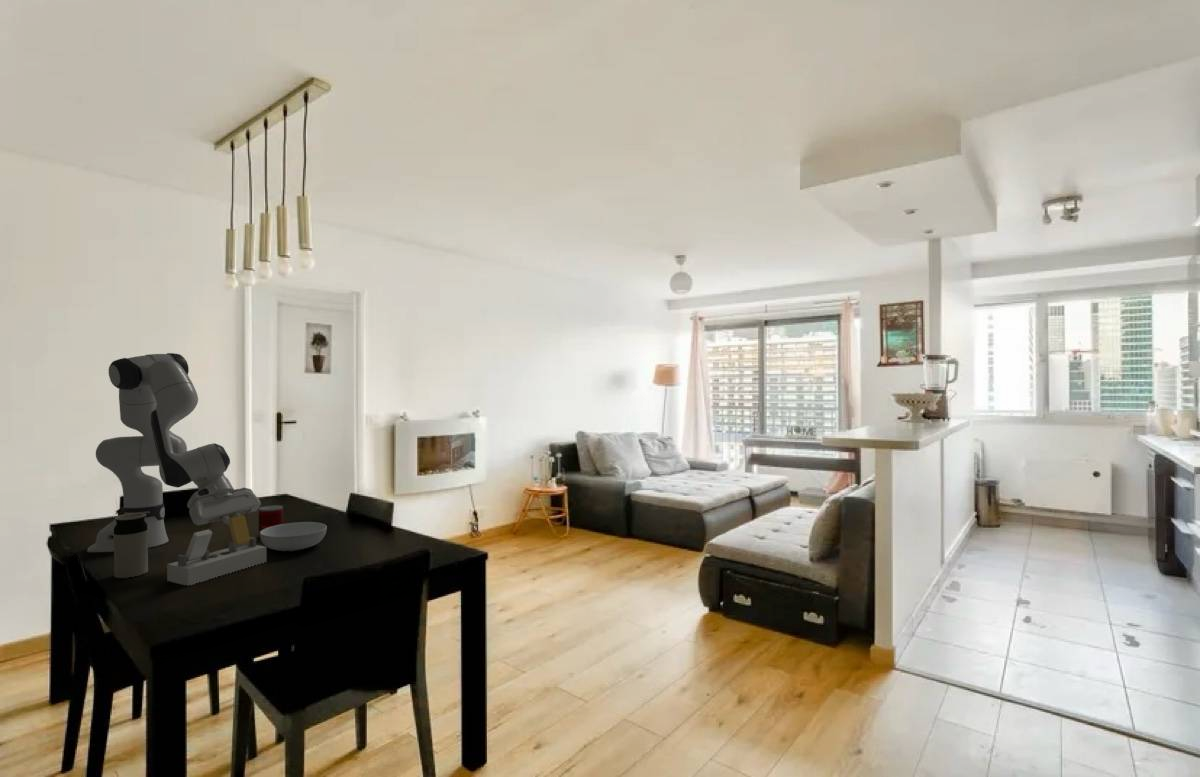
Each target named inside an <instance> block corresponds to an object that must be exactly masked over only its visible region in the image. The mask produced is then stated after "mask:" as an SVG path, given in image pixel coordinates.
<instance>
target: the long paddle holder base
mask: <svg viewBox="0 0 1200 777" xmlns="http://www.w3.org/2000/svg"><path fill="white" fill-rule="evenodd" d="M249 541H251V545H248V546H244V547H240V548H237V543H236V542H233V541H229V542H228V547H227V548H223V549H218V550H216V551H212V552H210V549H208V548H207V549H206V552H205V554H204V557H203V558H199V559H196V560H192V561H188V562H187V556H185V555H186V554H185V555H184V554H178V555H177V561H174V562H171V563H170V562H169V563H167V564H166V567H167V568H166V569H167V570H166V572H167V573H166V574H167V575H166V576H167V578H166V580H167V582H169V581H170V583H174V584H179V585H182V586H186V585H187V587H188V586H189V585H190V586H192V585H193V586H194V585H196V583H197V584H199V582H200V583H203V582H207V581H209V579H210V580H213V579H216V578H219V577H218V576H220V577H223V576H225V574H226V575H229V574H232V572H233V573H235V571H236V572H239V571H242V570H241V569H243V570H246V569H249V568H251V566H252V567H255V566H254V565H256V566H258V564H259V565H262V564H264V562H265V563H267V547H266V546H265V545H258V544H257V537H254V536H250V540H249ZM261 563H262V564H261ZM248 567H249V568H248ZM245 568H246V569H245ZM238 570H239V571H238ZM228 573H229V574H228ZM222 575H223V576H222ZM215 577H216V578H215ZM212 578H213V579H212ZM190 586H189V587H190Z"/></svg>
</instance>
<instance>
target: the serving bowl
mask: <svg viewBox="0 0 1200 777" xmlns="http://www.w3.org/2000/svg"><path fill="white" fill-rule="evenodd" d="M327 528H328V527H327V525H326V524H325V523H321V522H316V521H315V522H314V521H299V522H289V523H288V522H287V523H283V524H280V525H276V526H272V527H268V528H265V529H263V530H262V531H260V537H259V538H260V540H261V542H262V544H263V546H264V547H266V548H268V549H271V550H273V551H274V550H275V551H280V552H285V551H289V552H296V551H297V550H298V551H302V549H303V550H306V549H308V548H310V547H313V546H316V545H317V544H319V543H320V542H321V541H322V540H323V539H324V538H325V536H326V534H327ZM305 548H306V549H305ZM298 551H297V552H298Z"/></svg>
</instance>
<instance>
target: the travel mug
mask: <svg viewBox="0 0 1200 777" xmlns="http://www.w3.org/2000/svg"><path fill="white" fill-rule="evenodd" d="M145 516H146V514H145V513H132V514H124V515H120V516H118V515H117V516H115V517H114V520H116V523H117V524H116V526H115V527H114V552H113V575H114V576H113V577H114V578H115V579H121V578H123V579H130V578H129V577H132V578H136V577H135V576H137V577H140V576H143V575H144V574H146V573H148V571H149V563H148V562H149V552H148V550H149V548H148V536H147V523H146V522H145ZM142 574H143V575H142Z"/></svg>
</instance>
